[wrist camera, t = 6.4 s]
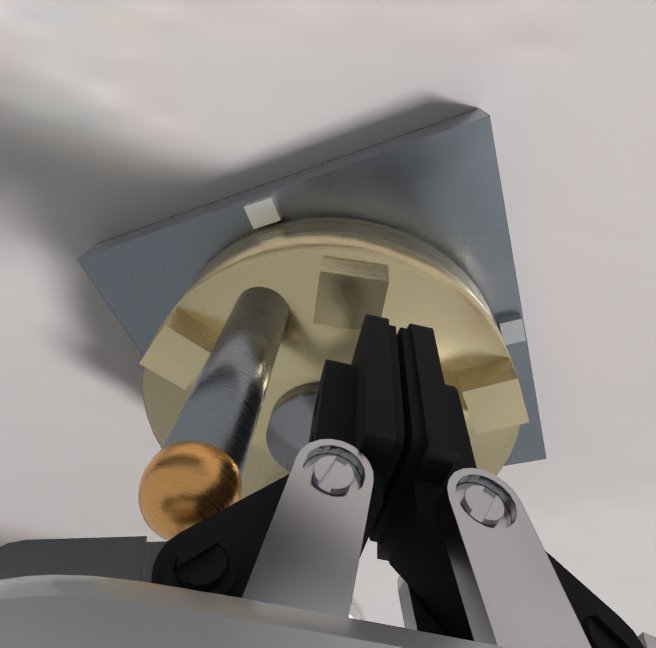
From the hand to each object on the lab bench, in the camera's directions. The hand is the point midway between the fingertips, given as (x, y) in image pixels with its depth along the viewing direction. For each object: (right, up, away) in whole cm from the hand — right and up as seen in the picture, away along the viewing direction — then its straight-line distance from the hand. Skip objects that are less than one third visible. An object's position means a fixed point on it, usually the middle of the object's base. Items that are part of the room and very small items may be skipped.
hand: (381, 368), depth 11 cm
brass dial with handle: (-1, -1, +7) cm, 7 cm away
